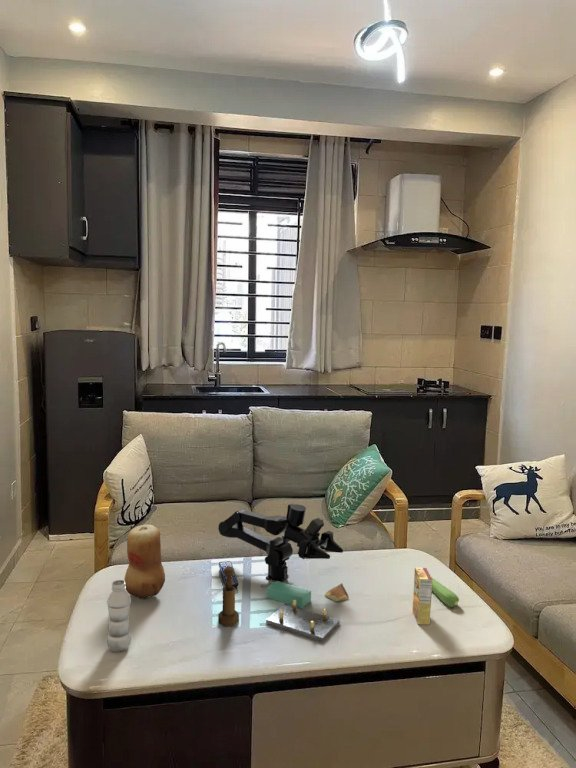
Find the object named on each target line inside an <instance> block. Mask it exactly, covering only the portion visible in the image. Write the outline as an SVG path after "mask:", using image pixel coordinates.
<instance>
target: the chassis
mask: <svg viewBox="0 0 576 768" xmlns="http://www.w3.org/2000/svg"><path fill="white" fill-rule="evenodd" d="M265 625H268V626H271V627H273V628H277V629H280V630H284V631H286V632H289V633H293V634H295V635H299V636H301V637H304V638H307V639H311V640H313V641H317V642H319V643H324V642H325V641H326V639H328V637H329V636H331V634H332V633H333V632H334V631H335V630H336V629H337V628H338V627H339V626H340V619H337V618H334V617H331V616H327V609H326V608H322V614H320V613H318V612H313V611H311V610H308V609H305V608H300V607H297V606H296V600H293V605H290V604H287V603H284V604H283V605H282V606H280V607H279V608H278V609H277V610H276V611H274V612H273V613H272V614H271V615H270V616H268V617H267V618H266V619H265Z"/></svg>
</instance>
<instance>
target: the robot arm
mask: <svg viewBox="0 0 576 768" xmlns="http://www.w3.org/2000/svg"><path fill="white" fill-rule="evenodd" d="M286 511H287V512H286V515H285V516H284V515H264V514H261V513H257V512H254V511H250V510H247V509H245V508H241V509H239V510H236V511H234V512H233V513H232V514H231V515H230V516H229V517H228V518H226V519H225V520H223V521H221V522H219V523H218V526H217V529H218V532H219V535H221V536H223V537H226V538H229V539H230V538H231V539H232V538H234V539H239V540H241V541H243V542H245V543H248V544H249V545H251V546H254V547H256V548H257V549H260V550H262V551H263V552H265V553H266V554H267V556H265V557H264V562H265V564H266V565H267V575H266V576H265V579H266V580H270V581H272V582H275V581H279V582H283V581H284V580H286V579H287V578H288V577H289V574H288V569H289V568H288V567H289V566H287V561H289V559H290V558H291V556H292V555H293V552H294V551H293V546H292V543H290V542H293V543H294V544H296V547H298V550H297V556H298V558H300V559H302V560H309V559H311V560H312V559H313V560H314V559H315V560H316V559H317V560H320V559H321V560H323V559H324V560H327V559H328V560H329V559H331V555H330V554H329V553H327V552H332V553H339V554H340V553H341V554H342V553H343V552H344V549H343V548H342V547H341V546H340V545H339V544H338V543H337V542H336V541H335V539H334V532H332V531H331V530H327V531H324V532H322V533H321V532H320V531H321V529H322V528H323V527H324V526H325V523H324V520H323V519H322V518H319V517H316V518H314V519H312V520H311V521H310V522H309V524H308V526H307V527H306V528H305V529H304V528H303V527H301V526H302V525H304V522H305V516H306V511H307V507H306V506H304V505H303V504H295V503H289V504H288V505H287V510H286ZM243 523H244V524H247V525H252V526H253V527H254V526H255V527H259V528H262V529H264V530H265V532H266V533H269V534H270V535H272V536H277V537H276V538H273V539H270V538H269V537H267V536H264V535H263V534H260V533H258V532H256V531H253V530H251V529H249V528H248V527H246V526H244V525H243ZM282 533H283V535H282V536H281V537H280V536H279V535H280V534H282ZM320 535H321V536H320Z"/></svg>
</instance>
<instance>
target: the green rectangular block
mask: <svg viewBox="0 0 576 768" xmlns="http://www.w3.org/2000/svg"><path fill="white" fill-rule="evenodd" d="M266 590H267V591H266V595H267V596H266V597H267V598H268V599H271V600H275V601H278V602H281V603H284V604H288V605H291V606H293V600H296V607H297V606H298V608H300V607H301V609H304V608H305V607H306V606H305V605H308V604H309V603H310V602H311V601H312V590H309V589H305V588H303V587H299V586H297V585H292V584H288V583H285V582H283V581H282V582H279V581H273V583H272V584H270V585H269V586H267V589H266Z"/></svg>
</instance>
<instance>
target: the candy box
mask: <svg viewBox="0 0 576 768" xmlns="http://www.w3.org/2000/svg"><path fill="white" fill-rule="evenodd" d="M431 577H432V576H431V574H430V573H429V571H428V569H427V567H414V576H413V592H412V593H413V596H412V613H413V616H414V619H415V621H416V623H417V625H422V626H423V625H426V626H427V625H428V626H430V624H431V611H432V610H431V609H432V608H431V607H432V597H433V596H432V593H433V591H432V578H433V577H432V578H431Z"/></svg>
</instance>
